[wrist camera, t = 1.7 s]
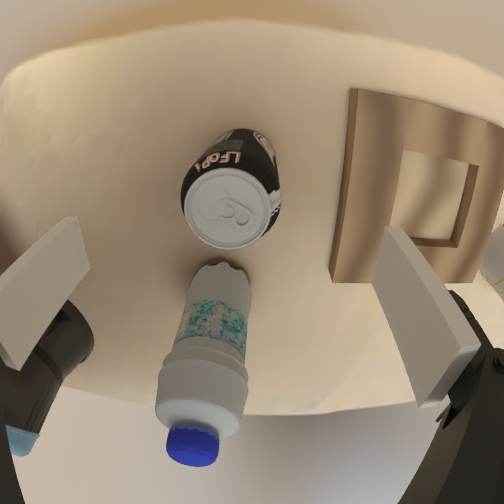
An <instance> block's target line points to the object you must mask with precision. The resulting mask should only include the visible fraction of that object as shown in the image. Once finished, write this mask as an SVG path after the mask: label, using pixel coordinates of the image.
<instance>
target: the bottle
mask: <svg viewBox="0 0 504 504" xmlns="http://www.w3.org/2000/svg"><path fill="white" fill-rule="evenodd" d="M251 297H252V296H251V288H250V285H249V282H248V279H247V276H246V274H245V273H244V272H243V271H242V270H241V269H238V270H235V269H234V268H232V267H231V266H230V265H229V264H228V263H227V262H220V263H219V264H217V265H214V266H211V265H205V266H203V267H202V268H201V269H200V270H199V271H198V272H197V274H196V275H195V277H194V278H193V280H192V282H191V284H190V287H189V290H188V294H187V299H186V304H185V309H184V313H183V315H182V318H181V322H180V325H179V328H178V331H177V335H176V338H175V341H174V344H173V348H172V351H171V352H170V353H169V354H168V355H167V356H166V358H165V359H164V362H163V368H162V369H161V371H160V372H159V376H158V390H157V397H156V405H155V413H156V416H157V418H158V419H159V421H161V423H162V424H164V425H165V426H166V427H167V428H169V429H170V430H169V433H168V438H167V444H166V450H167V453H168V455H169V456H170V457H171V458H172V459H173V460H175V461H177V462H178V463H181V464H184V465H188V466H194V467H203V466H207V465H210V464H212V463H213V462H215V460H216V458H217V456H218V452H219V439H221V438H225V437H228V436H230V435H232V434H234V433H235V432H236V431H237V430H238V429H239V427H240V424H241V419H242V415H243V410H244V406H245V402H246V398H247V395H248V385H247V382H248V373H247V370H246V368H245V366H244V365H245V352H246V338H247V323H248V317H249V312H250V306H251Z"/></svg>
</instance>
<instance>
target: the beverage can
mask: <svg viewBox="0 0 504 504" xmlns="http://www.w3.org/2000/svg"><path fill="white" fill-rule="evenodd" d="M181 206H182V210H183V213H184V216H185V218H186V221H187V224H188V225H189V227H190V229H191V231H192V232H193V233H194V234H195V235H196V237H198V238H199V239H200V240H201V241H203V242H204V243H206V244H208V245H210V246H212V247H215V248H219V249H225V250H233V249H239V248H243V247H246V246H248V245H250V244H252V243H254V242H255V241H256V240H257V239H259V238H260V237H262V236H263V235H264V234H265V233H266V232H268V231H269V229H270V228H271V227H272V225H273V224H274V223H275V221H276V219H277V217H278V214H279V211H280V206H281V190H280V183H279V177H278V171H277V164H276V158H275V153H274V150H273V148H272V146H271V144H270V143H269V142H268V140H267V139H266V138H265V137H264V136H262V135H261V134H259V133H257V132H255V131H252V130H249V129H234V130H230V131H228V132H226V133H224V134H222V135H221V136H220V137H218V138H217V140H216V141H215V142H214V143H213V144H212V145H211V146H210V147H209V148H208V149H207V150H206V152H205V153H204V154H203V155H202V156H201V157H200V158H199V159H198V160H197V162H196V163H195V164H194V165H193V166H192V167H191V168H190V170H189V171H188V173H187V175H186V177H185V178H184V181H183V185H182V188H181Z"/></svg>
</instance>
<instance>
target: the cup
mask: <svg viewBox="0 0 504 504" xmlns="http://www.w3.org/2000/svg"><path fill="white" fill-rule="evenodd" d="M479 269H480V272H481V274H482V275H483V276H484V277H485V279H486V280H487V281H488V282H489V283H490V285H491V286H492V287H493V288H494V290H495V291H496V292H497V293H498V295H499V296H500V297H501V298H502V300H503V301H504V225H502V226H500V227H499V228H497V229H496V230H495V231H494V232H493V233H492V234H491V235H490V238H489V241H488V244H487V246H486V249H485V252H484V255H483V257H482V260H481V263H480V265H479Z"/></svg>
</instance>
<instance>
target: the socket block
mask: <svg viewBox="0 0 504 504" xmlns="http://www.w3.org/2000/svg"><path fill="white" fill-rule="evenodd" d="M503 190H504V128H502V127H499V126H497V125H494V124H491V123H489V122H486V121H483V120H480V119H478V118H475V117H472V116H469V115H466V114H463V113H459V112H456V111H453V110H450V109H446V108H443V107H439V106H436V105H432V104H428V103H424V102H420V101H416V100H412V99H408V98H403V97H399V96H394V95H389V94H384V93H379V92H373V91H367V90H361V89H350V101H349V115H348V127H347V138H346V148H345V158H344V167H343V175H342V184H341V191H340V199H339V206H338V213H337V220H336V227H335V233H334V240H333V246H332V252H331V258H330V263H329V273H330V276H331V279H332V283H372V282H371V281H372V277H373V274H374V270H375V266H376V262H377V258H378V254H379V250H380V246H381V242H382V238H383V233H384V229H385V226H390V227H401V228H402V229H403V230H404V231H405V233H406V234H407V235H408V236H409V238H410V239H411V240H412V242H413V243H414V244H415V245H416V247H417V248H418V249H419V251H420V252H421V253H422V255H423V256H424V257H425V259H426V260H427V261H428V263H429V264H430V266H431V267H432V268H433V270H434V271H435V273H436V274H437V275H438V277H439V278H440V280H441V281H442V283H472V282H473V280H474V278H475V275H476V273H477V270H478V268H479V265H480V263H481V260H482V257H483V255H484V252H485V249H486V246H487V244H488V241H489V238H490V235H491V232H492V229H493V225H494V222H495V219H496V215H497V212H498V209H499V205H500V201H501V197H502V194H503Z"/></svg>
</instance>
